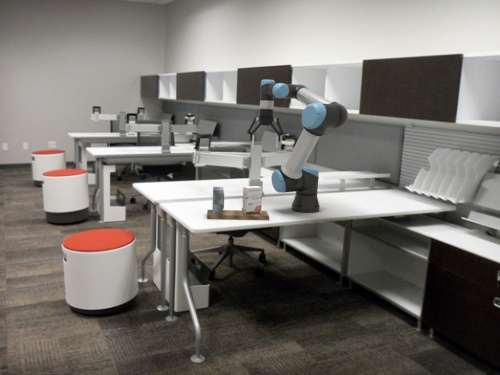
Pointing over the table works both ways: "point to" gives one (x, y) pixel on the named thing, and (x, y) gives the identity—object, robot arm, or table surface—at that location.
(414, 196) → the table surface
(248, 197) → the ink box
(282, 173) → the robot arm
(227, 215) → the wooden desk organizer
